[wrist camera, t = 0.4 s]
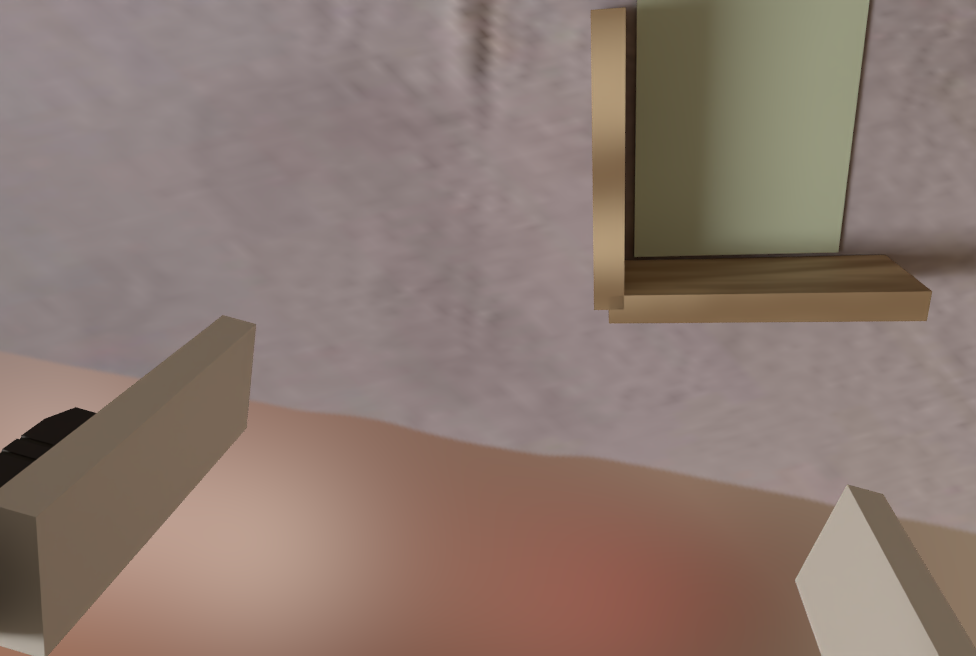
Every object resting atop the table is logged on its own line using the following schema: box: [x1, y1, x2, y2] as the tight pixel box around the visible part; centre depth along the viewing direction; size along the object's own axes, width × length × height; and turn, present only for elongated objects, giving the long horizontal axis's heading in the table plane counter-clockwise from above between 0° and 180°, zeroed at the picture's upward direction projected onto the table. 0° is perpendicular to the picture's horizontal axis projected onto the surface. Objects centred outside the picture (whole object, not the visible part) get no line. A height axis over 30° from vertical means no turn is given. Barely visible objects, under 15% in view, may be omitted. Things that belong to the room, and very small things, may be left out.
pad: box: [634, 0, 870, 257], centre depth 37 cm, size 14×11×1 cm
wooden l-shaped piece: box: [591, 7, 932, 323], centre depth 35 cm, size 15×16×6 cm
